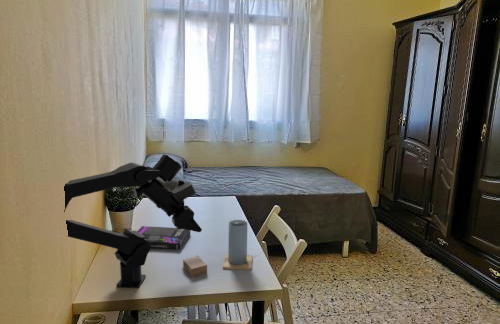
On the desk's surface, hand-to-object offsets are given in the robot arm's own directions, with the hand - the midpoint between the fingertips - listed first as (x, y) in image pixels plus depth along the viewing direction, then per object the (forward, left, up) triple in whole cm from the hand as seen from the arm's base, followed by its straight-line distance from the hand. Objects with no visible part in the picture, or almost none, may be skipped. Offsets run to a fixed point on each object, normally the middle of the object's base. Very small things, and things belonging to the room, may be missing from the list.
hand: (196, 225), depth 111 cm
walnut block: (-3, 0, -14) cm, 14 cm away
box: (+19, +17, -14) cm, 29 cm away
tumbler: (+3, -13, -13) cm, 18 cm away
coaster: (+3, -13, -14) cm, 19 cm away
